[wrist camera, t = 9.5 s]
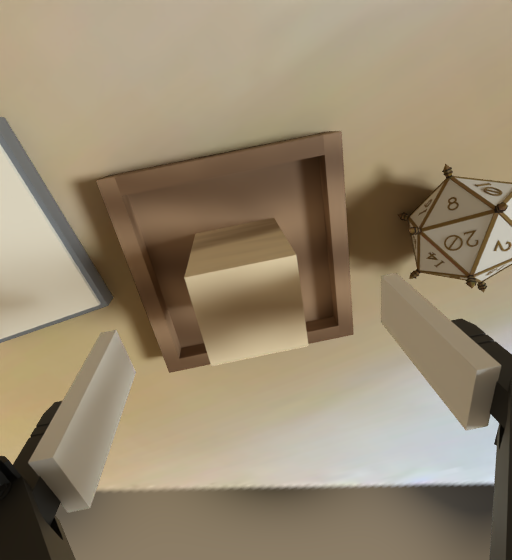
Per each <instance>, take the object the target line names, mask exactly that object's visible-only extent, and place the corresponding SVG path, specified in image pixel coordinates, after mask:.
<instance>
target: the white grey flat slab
mask: <svg viewBox="0 0 512 560" xmlns="http://www.w3.org/2000/svg"><path fill="white" fill-rule="evenodd" d="M112 299H113V296H112V294H111V293H110V291H109V289H108V288H107V286H106V284H105V283H104V281H103V280H102V278H101V276H100V275H99V273H98V271H97V270H96V268H95V266H94V265H93V263H92V261H91V260H90V258H89V256H88V255H87V253H86V251H85V250H84V248H83V246H82V245H81V243H80V241H79V240H78V238H77V237H76V235H75V233H74V232H73V230H72V228H71V227H70V225H69V223H68V222H67V220H66V218H65V217H64V215H63V213H62V212H61V210H60V208H59V207H58V205H57V203H56V202H55V200H54V198H53V197H52V195H51V193H50V192H49V190H48V189H47V187H46V185H45V184H44V182H43V180H42V179H41V177H40V175H39V174H38V172H37V170H36V169H35V167H34V165H33V164H32V162H31V160H30V159H29V157H28V155H27V154H26V152H25V150H24V149H23V147H22V146H21V144H20V142H19V141H18V139H17V137H16V136H15V134H14V132H13V131H12V129H11V127H10V126H9V124H8V122H7V121H6V119H5V118H4V117H0V343H1V342H4V341H7V340H10V339H13V338H16V337H19V336H22V335H25V334H28V333H30V332H33V331H36V330H39V329H42V328H45V327H48V326H51V325H54V324H57V323H59V322H62V321H65V320H68V319H71V318H74V317H77V316H80V315H83V314H86V313H88V312H91V311H94V310H97V309H100V308H103V307H106V306H108V305H109V303H110V302H111V300H112Z"/></svg>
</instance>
